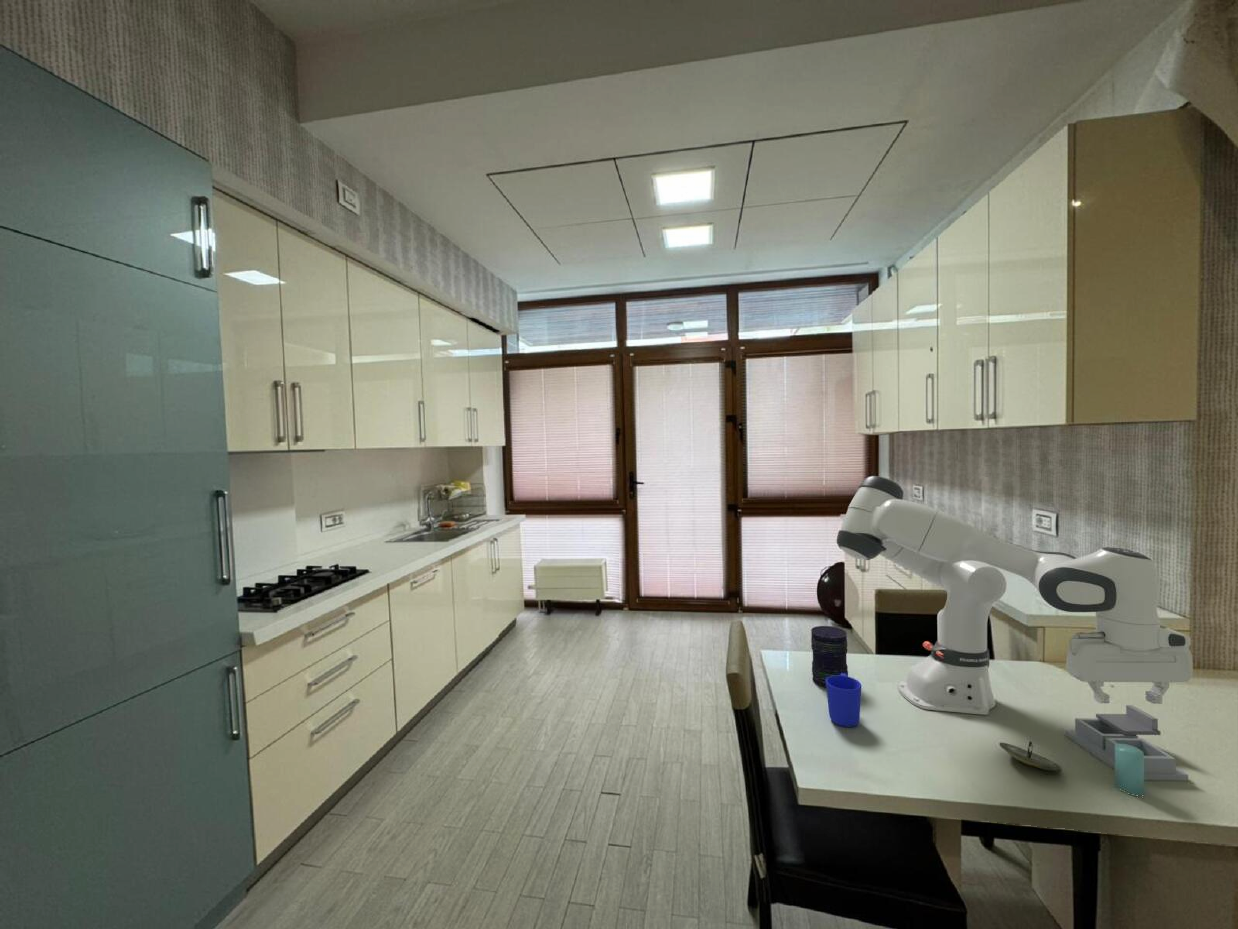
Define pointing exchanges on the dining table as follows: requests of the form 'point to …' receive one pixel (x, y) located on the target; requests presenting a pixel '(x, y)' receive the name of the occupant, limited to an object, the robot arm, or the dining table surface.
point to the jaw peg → (1129, 769)
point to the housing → (1104, 738)
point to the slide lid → (1132, 722)
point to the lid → (1030, 757)
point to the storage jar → (828, 653)
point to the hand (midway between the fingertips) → (1127, 702)
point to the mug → (843, 699)
